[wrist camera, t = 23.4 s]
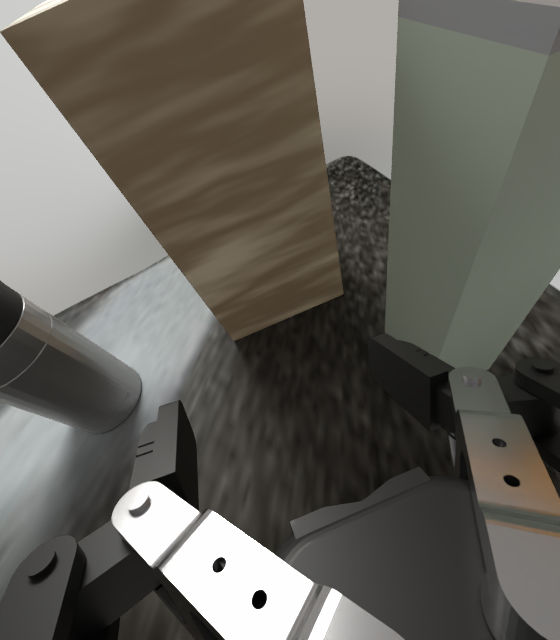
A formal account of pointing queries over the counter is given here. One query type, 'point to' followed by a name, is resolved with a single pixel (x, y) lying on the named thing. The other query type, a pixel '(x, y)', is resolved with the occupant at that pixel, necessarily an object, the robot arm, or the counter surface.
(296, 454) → the counter surface
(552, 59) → the grooved green pillar
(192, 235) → the stand
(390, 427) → the counter surface
